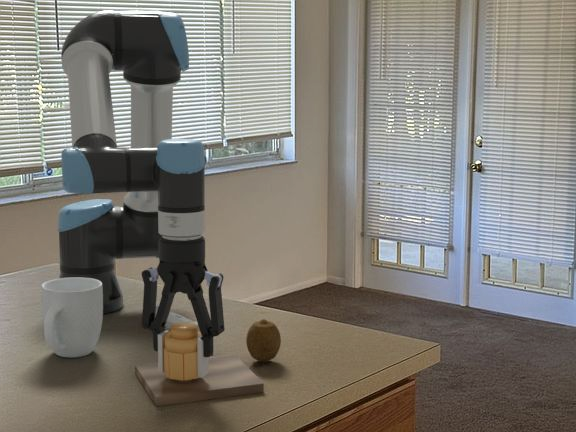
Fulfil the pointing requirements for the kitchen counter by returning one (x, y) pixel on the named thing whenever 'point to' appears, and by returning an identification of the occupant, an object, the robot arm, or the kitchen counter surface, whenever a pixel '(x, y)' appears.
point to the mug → (72, 315)
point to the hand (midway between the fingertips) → (183, 372)
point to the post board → (200, 382)
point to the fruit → (263, 340)
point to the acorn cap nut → (181, 351)
